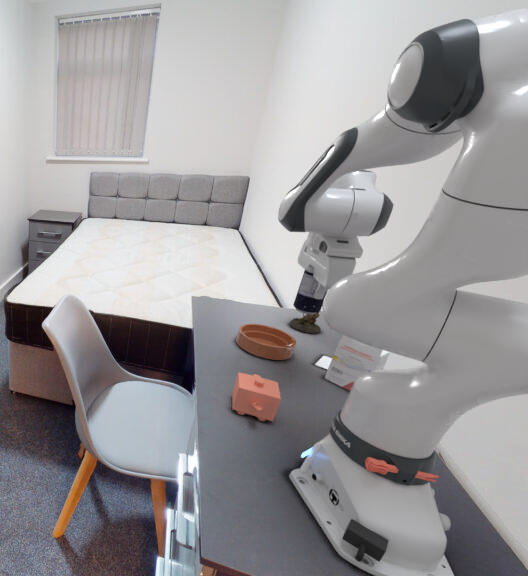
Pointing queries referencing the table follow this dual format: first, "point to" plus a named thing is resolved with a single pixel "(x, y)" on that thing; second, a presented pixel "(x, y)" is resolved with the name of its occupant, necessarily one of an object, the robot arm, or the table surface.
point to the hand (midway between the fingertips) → (311, 292)
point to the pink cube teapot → (256, 396)
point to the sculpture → (306, 323)
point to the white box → (324, 362)
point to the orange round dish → (266, 341)
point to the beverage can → (308, 294)
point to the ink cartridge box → (354, 362)
